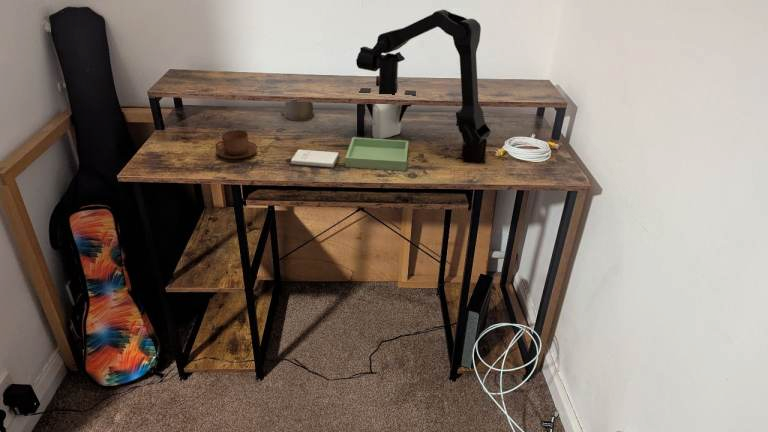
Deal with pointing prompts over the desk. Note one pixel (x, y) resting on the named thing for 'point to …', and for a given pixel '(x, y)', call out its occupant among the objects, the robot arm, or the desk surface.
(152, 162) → the desk surface
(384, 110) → the white rounded tower
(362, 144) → the tray
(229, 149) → the cup and saucer
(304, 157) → the hard drive
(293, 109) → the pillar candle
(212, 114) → the desk surface
